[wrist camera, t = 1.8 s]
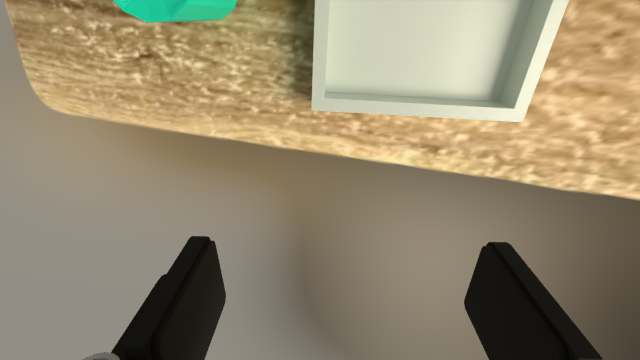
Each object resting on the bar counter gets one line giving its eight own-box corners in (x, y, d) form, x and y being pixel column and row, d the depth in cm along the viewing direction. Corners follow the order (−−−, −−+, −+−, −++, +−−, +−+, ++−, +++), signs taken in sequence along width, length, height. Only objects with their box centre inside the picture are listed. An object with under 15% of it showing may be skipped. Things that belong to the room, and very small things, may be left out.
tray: (319, -68, 25) (317, -80, 22) (561, -56, 25) (594, -66, 22) (313, 101, 32) (311, 110, 29) (503, 111, 31) (522, 122, 28)
